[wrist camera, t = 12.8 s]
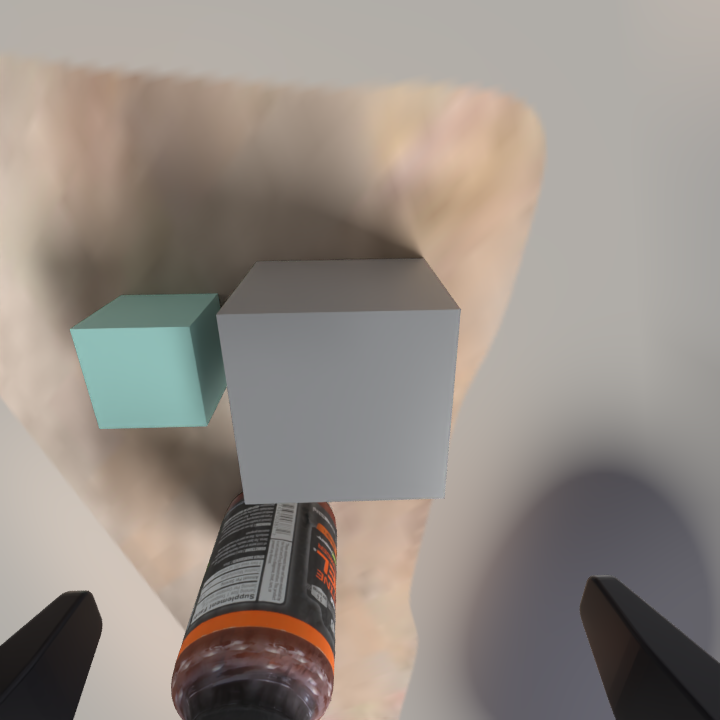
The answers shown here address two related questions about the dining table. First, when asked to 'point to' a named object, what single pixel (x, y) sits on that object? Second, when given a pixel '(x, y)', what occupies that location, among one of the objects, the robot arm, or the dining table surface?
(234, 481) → the dining table surface
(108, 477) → the dining table surface
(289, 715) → the supplement bottle
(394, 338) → the grey arch block
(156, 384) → the cube
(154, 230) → the dining table surface
